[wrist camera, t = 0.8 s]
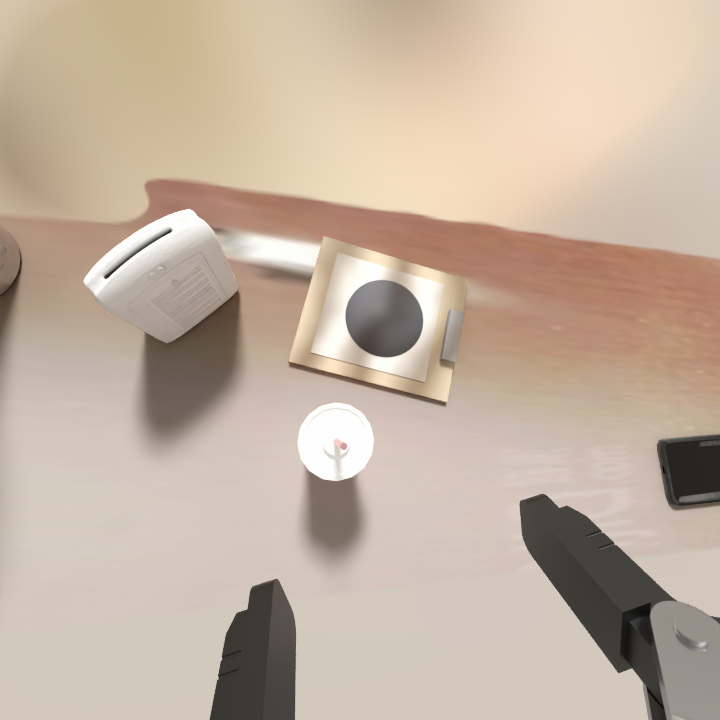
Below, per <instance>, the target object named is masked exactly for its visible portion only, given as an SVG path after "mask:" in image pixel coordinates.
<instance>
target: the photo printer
mask: <svg viewBox="0 0 720 720" xmlns="http://www.w3.org/2000/svg"><path fill="white" fill-rule="evenodd" d="M83 282H84V284H85V286H87V287H88V288H89V289H90V290H91V292H92V295H93V297H94V298H95V300H96V301H97V302H98V303H99V304H100V305H101V306H102V307H103V308H104V309H106V310H108V311H109V312H111V313H113V314H115V315H116V316H118V317H120V318H121V319H123V320H125V321H127V322H128V323H130V324H132V325H134V326H135V327H137V328H139V329H140V330H142V331H144V332H146V333H147V334H149V335H151V336H153V337H154V338H156V339H158V340H161V341H163V342H165V343H169V342H171V341H173V340H175V339H177V338H179V337H180V336H182V335H183V334H184V333H186V332H187V331H189V330H190V329H191V328H193V327H194V326H195V325H197V324H198V323H199V322H200V321H202V320H203V319H204V318H206V317H207V316H208V315H210V314H211V313H212V312H213V311H215V310H216V309H217V308H218V307H220V306H221V305H222V304H223V303H225V302H226V301H227V300H228V299H229V298H230V297H232V296H233V295H234V294H235V293H236V291H237V290H238V288H239V286H238V284H237V282H236V279H235V276H234V274H233V272H232V270H231V268H230V265H229V263H228V261H227V259H226V256H225V254H224V252H223V250H222V248H221V245H220V243H219V241H218V239H217V237H216V235H215V233H214V231H213V230H212V229H211V228H210V226H209V225H208V224H207V223H206V222H205V221H204V220H202V219H201V218H199V217H198V216H197V215H196V214H195V212H194V211H192V210H190V209H187V210H183V211H179V212H176V213H173V214H170V215H168V216H165V217H163V218H161V219H159V220H157V221H155V222H153V223H151V224H149V225H147V226H146V227H144V228H142V229H141V230H139V231H137V232H136V233H134V234H133V235H131V236H130V237H128V238H127V239H125V240H124V241H123V242H121V243H120V244H119V245H117V246H116V247H115V248H113V249H112V250H111V251H110V252H108V253H107V254H106V255H105V256H104V257H103V258H102V259H101V260H99V262H97V264H96V265H95V266H94V267H93V268H92V269H91V270H90V272H89V273H88V274H87V276H86V277H85V279H84V281H83Z"/></svg>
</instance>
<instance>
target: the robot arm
mask: <svg viewBox="0 0 720 720" xmlns="http://www.w3.org/2000/svg"><path fill="white" fill-rule="evenodd" d="M19 267H20V253H19V248H18V246H17V244H16V242H15V240H14V239H13V238H12V236H11V235H10V234H9V233H8V232H7V231H5V230H4V229H3V228H2V227H0V295H1V294H2V293H4V292H5V291H6V290H7V289H8V287H9V286H10V285H11V284H12V283H13V281H14V279H15V278H16V276H17V273H18V270H19ZM520 515H521V527H522V536H523V539H524V542H525V545H526V547H527V549H528V551H529V552H530V554H531V555H532V557H533V558H534V560H535V561H536V562H537V564H538V565H539V566H540V568H541V569H542V570H543V572H544V573H545V574H546V576H547V577H548V578H549V580H550V581H551V583H552V584H553V585H554V587H555V588H556V589H557V591H558V592H559V593H560V595H561V596H562V597H563V599H564V600H565V601H566V603H567V604H568V606H569V607H570V608H571V610H572V611H573V612H574V614H575V615H576V616H577V618H578V619H579V620H580V622H581V623H582V624H583V626H584V627H585V628H586V630H587V631H588V633H589V634H590V635H591V637H592V638H593V639H594V640H595V642H596V643H597V645H598V646H599V647H600V649H601V650H602V651H603V653H604V654H605V655H606V657H607V658H608V660H609V661H610V662H611V663H612V665H613V666H614V668H615V669H616V670H617V672H618V673H620V672H623V671H626V670H628V669H631V668H633V670H634V671H635V672H636V674H637V675H638V676H639V677H640V679H641V680H642V681H643V690H644V696H645V701H646V707H647V713H648V719H649V720H720V618H717V617H713V616H709V615H707V614H706V613H704V612H703V611H701V610H699V609H697V608H696V607H693V606H691V605H689V604H685V603H682V602H678V601H676V600H675V599H674V598H672V597H671V596H670V595H669V594H668V593H666V592H665V591H664V590H663V589H662V588H661V587H660V586H659V585H658V584H657V583H656V582H655V581H654V580H653V579H652V578H651V577H650V576H648V575H647V574H646V573H645V572H644V571H643V570H642V569H641V568H640V567H639V566H638V565H637V564H636V563H635V562H634V561H633V560H632V559H631V558H630V557H629V556H628V555H626V554H625V553H624V552H623V551H622V550H621V549H620V548H619V547H618V546H617V545H615V544H614V542H613V541H612V540H611V539H610V538H609V537H608V536H607V535H605V534H604V533H602V532H601V530H600V529H599V528H598V527H597V526H596V525H595V524H594V523H593V522H592V521H591V520H590V519H589V518H588V517H587V516H585V515H583V514H582V513H580V512H578V511H576V510H574V509H572V508H571V507H569V506H565V507H561V508H559V507H558V506H557V505H556V504H555V503H554V502H553V501H552V500H551V499H550V498H549V497H548V496H546V495H545V494H540V495H537V496H534V497H531V498H528V499H525V500H521V501H520ZM295 669H296V627H295V619H294V614H293V611H292V609H291V606H290V604H289V602H288V600H287V597H286V595H285V593H284V591H283V589H282V586H281V584H280V582H279V580H278V579H274V580H271V581H268V582H265V583H262V584H259V585H256V586H253V587H252V588H251V591H250V597H249V603H248V609H247V610H244V611H241V612H238V613H237V614H236V616H235V617H234V620H233V622H232V623H231V625H230V627H229V630H228V631H227V633H226V637H225V643H224V648H223V653H222V661H221V664H220V669H219V674H218V677H219V679H218V680H217V685H216V689H215V695H214V700H213V705H212V711H211V716H210V720H295Z"/></svg>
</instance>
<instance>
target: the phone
mask: <svg viewBox="0 0 720 720" xmlns="http://www.w3.org/2000/svg"><path fill="white" fill-rule="evenodd" d="M657 451H658V457H659V462H660V468H661V473H662V479H663V484H664V490H665V495H666V498H667V500H668V501H669V502H670V503H672V504H675V505H679V506H684V505H693V504H701V503H710V502H719V501H720V435H707V436H693V437H680V438H666V439H661V440H659V442H658V443H657ZM660 454H661V455H660ZM662 466H664V470H665V474H664V473H663V468H662Z"/></svg>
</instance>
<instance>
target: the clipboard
mask: <svg viewBox="0 0 720 720" xmlns="http://www.w3.org/2000/svg"><path fill="white" fill-rule="evenodd" d="M468 283H469V280H466V279H462V278H459V277H456V276H453V275H449V274H446V273H443V272H439V271H436V270H433V269H430V268H426V267H423V266H420V265H417V264H413V263H410V262H407V261H404V260H400V259H397V258H394V257H390V256H387V255H384V254H381V253H377V252H374V251H371V250H368V249H364V248H361V247H358V246H355V245H351V244H348V243H345V242H341V241H338V240H335V239H332V238H328V237H325V236H324V237H323V241H322V245H321V248H320V252H319V255H318V259H317V262H316V266H315V269H314V273H313V276H312V280H311V283H310V287H309V291H308V294H307V298H306V301H305V305H304V308H303V312H302V315H301V319H300V322H299V326H298V329H297V333H296V337H295V340H294V344H293V347H292V351H291V354H290V358H289V362H291V363H294V364H298V365H302V366H306V367H310V368H314V369H318V370H322V371H326V372H329V373H333V374H337V375H341V376H345V377H349V378H353V379H357V380H361V381H364V382H368V383H372V384H376V385H380V386H384V387H388V388H392V389H395V390H399V391H403V392H407V393H411V394H415V395H419V396H423V397H427V398H430V399H434V400H438V401H442V402H447V399H448V394H449V388H450V383H451V377H452V372H453V366H454V362H455V361H456V356H457V350H458V345H459V339H460V334H461V328H462V322H463V317H464V312H463V311H464V305H465V300H466V294H467V289H468Z"/></svg>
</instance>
